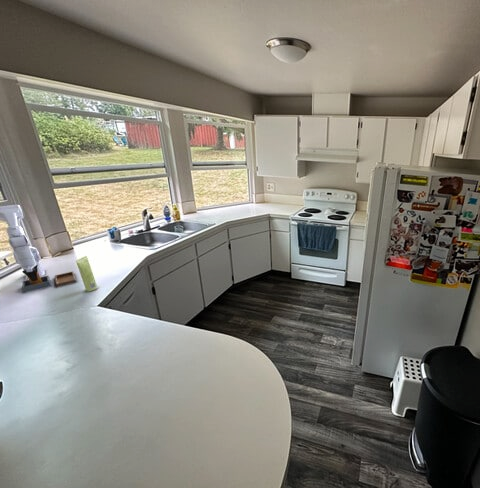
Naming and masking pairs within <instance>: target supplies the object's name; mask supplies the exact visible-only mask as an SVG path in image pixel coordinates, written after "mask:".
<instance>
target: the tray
mask: <svg viewBox="0 0 480 488" xmlns="http://www.w3.org/2000/svg"><path fill="white" fill-rule="evenodd" d="M54 282H55V286H56V287H62V286H65V285H70V284H74V283H77V280H76V276H75V273H74V271H68V272H64V273H60V274H55V275H54Z"/></svg>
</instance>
